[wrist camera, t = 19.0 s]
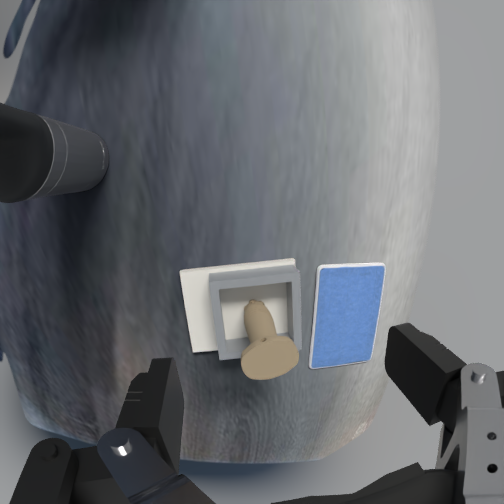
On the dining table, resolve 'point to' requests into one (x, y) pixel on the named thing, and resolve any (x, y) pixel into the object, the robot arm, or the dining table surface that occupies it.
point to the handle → (265, 345)
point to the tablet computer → (345, 313)
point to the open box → (240, 303)
